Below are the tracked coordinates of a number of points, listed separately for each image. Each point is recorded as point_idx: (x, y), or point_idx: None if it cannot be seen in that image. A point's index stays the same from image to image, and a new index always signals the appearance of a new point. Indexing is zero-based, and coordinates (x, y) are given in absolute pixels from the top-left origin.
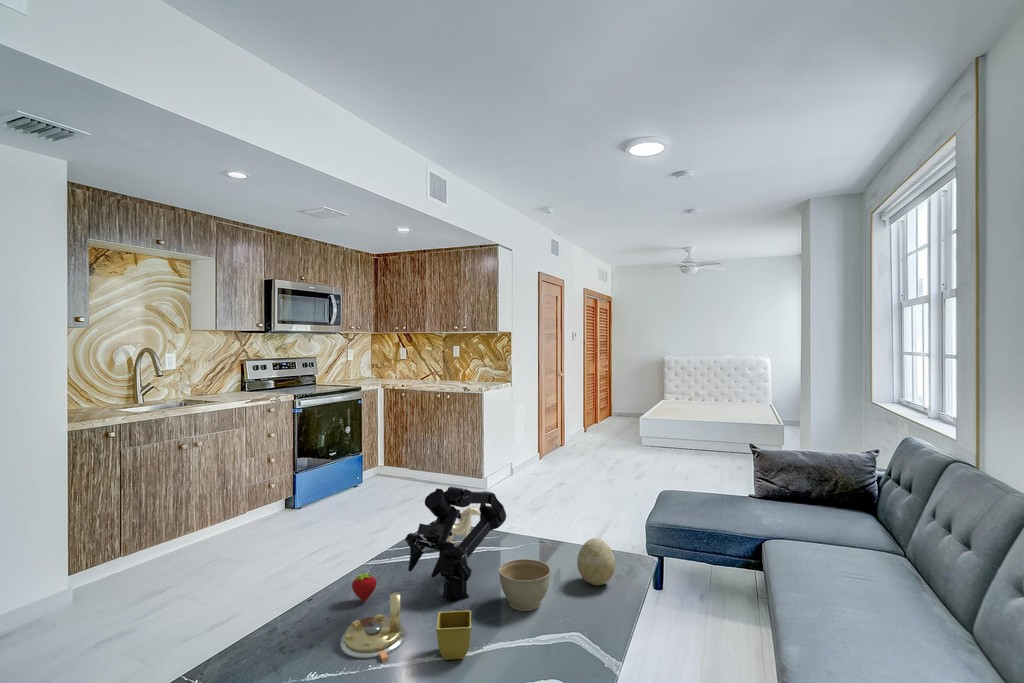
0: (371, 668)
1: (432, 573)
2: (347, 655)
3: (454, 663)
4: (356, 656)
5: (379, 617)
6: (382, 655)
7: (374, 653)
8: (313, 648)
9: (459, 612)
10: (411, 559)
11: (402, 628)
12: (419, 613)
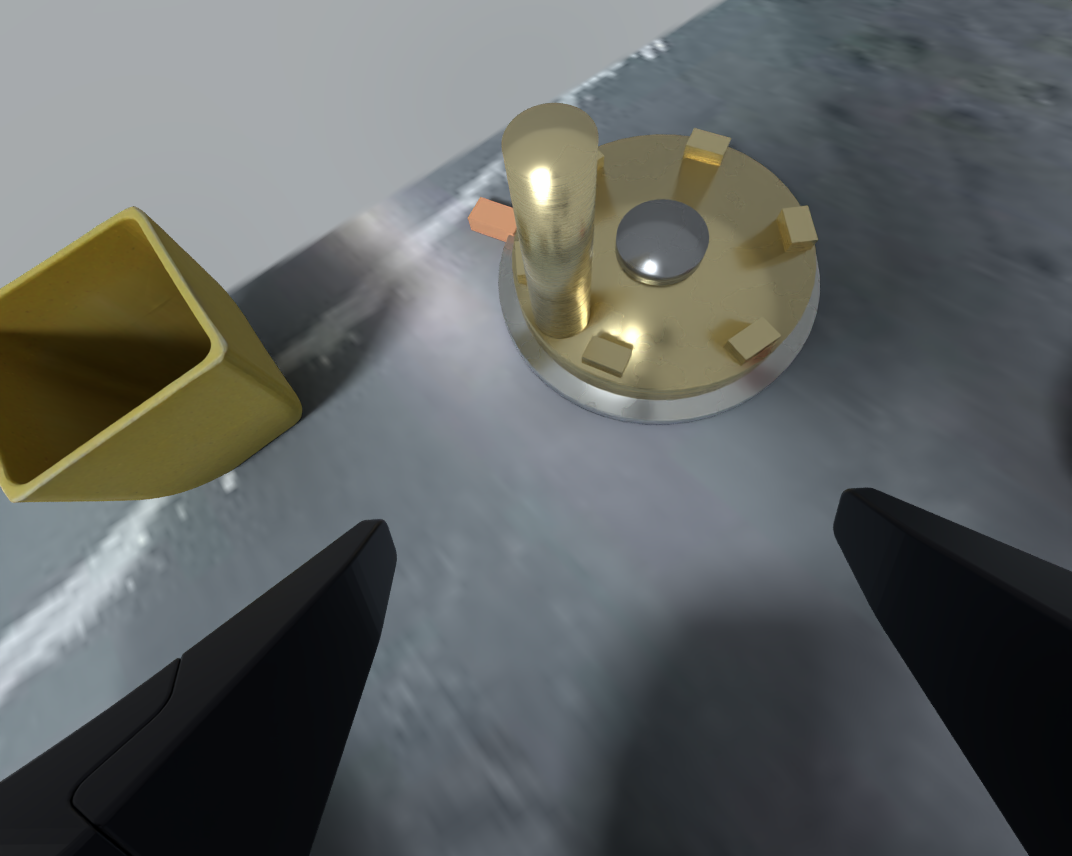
0: (492, 169)
1: (356, 538)
2: None
3: None
4: None
5: (740, 332)
6: (495, 209)
7: None
8: (808, 110)
9: (92, 442)
10: (1052, 591)
11: (592, 401)
12: (662, 608)
